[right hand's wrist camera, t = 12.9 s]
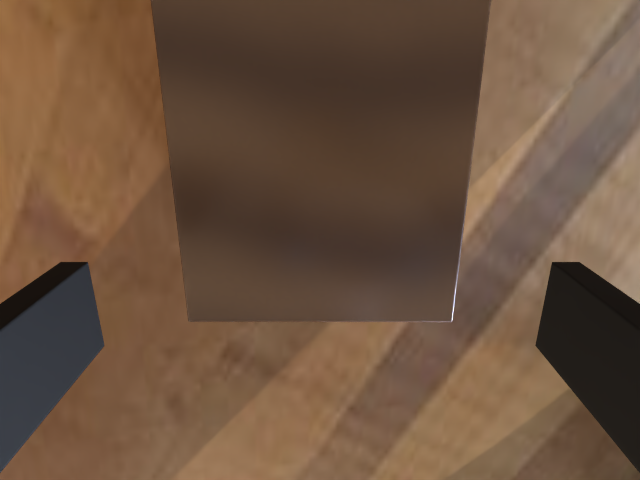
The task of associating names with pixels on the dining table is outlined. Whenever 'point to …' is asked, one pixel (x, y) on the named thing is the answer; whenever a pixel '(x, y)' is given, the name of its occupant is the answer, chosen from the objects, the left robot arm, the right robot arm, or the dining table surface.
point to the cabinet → (320, 154)
